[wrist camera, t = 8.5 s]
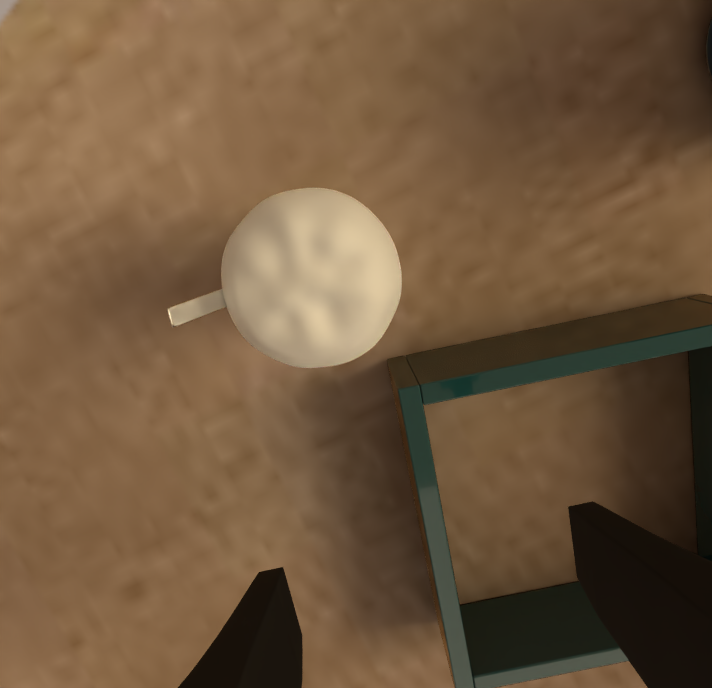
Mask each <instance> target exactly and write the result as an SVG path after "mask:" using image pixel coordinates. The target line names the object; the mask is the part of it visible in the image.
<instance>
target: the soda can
mask: <svg viewBox="0 0 712 688" xmlns="http://www.w3.org/2000/svg"><path fill="white" fill-rule="evenodd" d="M706 59H707V66H708V71H709V74H710V77H711V80H712V19H711V22H710V26H709V30H708V35H707V42H706Z"/></svg>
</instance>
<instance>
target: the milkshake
mask: <svg viewBox="0 0 712 688" xmlns="http://www.w3.org/2000/svg"><path fill="white" fill-rule="evenodd" d="M221 282H222V289H220V290H217V291H214V292H211V293H208V294H205V295H202V296H199V297H196V298H193V299H190V300H188V301H185V302H182V303H179V304H176V305H173V306H171V307H169V308H167V313H168V316H169V320H170V324H171V326H172V327H173V328H174V327H177V326H180V325H183V324H185V323H188V322H190V321H193V320H195V319H198V318H200V317H203V316H205V315H208V314H210V313H213V312H215V311H218V310H220V309H223V308H225V307H227V309H228V312H229V314H230V316H231V319H232V321H233V322H234V324H235V326H236V328H237V329H238V331H239V332H240V333H241V335H242V336H243V337H244V338H245V339H246V340H247V341H248V342H249V343H250V344H251V345H252V346H253V347H254V348H256V349H257V350H259V351H260V352H262V353H263V354H265V355H267V356H268V357H270V358H272V359H274V360H276V361H279V362H281V363H284V364H287V365H290V366H294V367H300V368H320V367H329V366H335V365H340V364H343V363H346V362H349V361H352V360H354V359H356V358H358V357H360V356H361V355H363V354H364V353H366V352H367V351H369V350H370V349H371V348H372V347H374V346H375V345H376V344H377V343H378V341H379V340H380V339H381V337H382V336H383V334H384V333H385V331H386V330H387V328H388V326H389V324H390V322H391V320H392V318H393V316H394V314H395V312H396V309H397V307H398V304H399V300H400V296H401V289H402V275H401V266H400V261H399V257H398V253H397V250H396V247H395V245H394V242H393V240H392V238H391V236H390V234H389V233H388V231H387V229H386V228H385V227H384V225H383V224H382V223H381V221H380V220H379V219H378V218H377V217H376V216H375V215H374V214H373V213H372V212H371V211H370V210H369V209H368V208H367V207H366V206H364V205H363V204H362V203H360V202H359V201H357V200H356V199H354V198H353V197H351V196H349V195H346V194H344V193H341V192H339V191H335V190H331V189H326V188H301V189H294V190H289V191H284V192H281V193H277V194H275V195H272V196H270V197H268V198H266V199H264V200H263V201H261V202H260V203H259V204H257V205H256V206H255V207H254V208H253V209H252V210H251V211H250V212H249V213H248V214H247V215H246V216H245V217H244V218H243V220H242V221H241V222H240V223H239V224H238V226H237V227H236V228H235V230H234V231H233V233H232V234H231V236H230V238H229V240H228V242H227V244H226V247H225V250H224V253H223V258H222V265H221Z"/></svg>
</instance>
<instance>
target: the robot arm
mask: <svg viewBox="0 0 712 688" xmlns="http://www.w3.org/2000/svg"><path fill="white" fill-rule="evenodd" d="M568 509H569V517H570V525H571V533H572V541H573V549H574V557H575V565H576V573H577V578H578V580H579V582H580V584H581V586H582V588H583V589H584V591H585V593H586V595H587V597H588V599H589V601H590V603H591V604H592V606H593V608H594V610H595V612H596V613H597V615H598V617H599V618H600V620H601V621H602V623H603V624H604V626H605V627H606V629H607V630H608V631H609V633H610V634H611V636H612V637H613V639H614V640H615V642H616V643H617V644H618V646H619V647H620V649H621V650H622V652H623V653H624V654H625V656H626V657H627V659H628V660H629V662H630V663H631V664H632V666H633V667H634V669H635V670H636V671H637V673H638V674H639V676H640V677H641V679H642V680H643V681H644V683H645V684H646V686H647V687H648V688H712V561H710V560H708V559H705V558H703V557H701V556H699V555H697V554H694V553H692V552H690V551H688V550H686V549H683V548H681V547H679V546H677V545H675V544H673V543H671V542H669V541H667V540H665V539H663V538H661V537H659V536H657V535H655V534H653V533H651V532H649V531H647V530H646V529H644V528H642V527H640V526H638V525H636V524H634V523H632V522H630V521H629V520H627V519H625V518H623V517H621V516H619V515H617V514H616V513H614V512H612V511H610V510H608V509H606V508H604V507H603V506H601V505H599V504H597V503H595V502H588V503H583V504H579V505H574V506H569V507H568ZM301 687H302V633H301V629H300V626H299V622H298V619H297V615H296V611H295V608H294V604H293V601H292V597H291V594H290V590H289V587H288V583H287V580H286V576H285V572H284V569H283V567H281V568H276V569H272V570H267V571H262V572H259V573H258V575H257V576H256V577H255V579H254V580H253V582H252V584H251V585H250V587H249V588H248V590H247V591H246V593H245V595H244V596H243V598H242V599H241V601H240V603H239V604H238V606H237V607H236V609H235V610H234V612H233V613H232V615H231V617H230V618H229V619H228V621H227V622H226V624H225V625H224V627H223V628H222V630H221V631H220V633H219V634H218V636H217V637H216V639H215V640H214V642H213V643H212V644H211V646H210V647H209V649H208V650H207V651H206V653H205V654H204V655H203V657H202V658H201V659H200V661H199V662H198V663H197V665H196V666H195V667H194V669H193V670H192V671H191V672H190V674H189V675H188V676H187V677H186V679H185V680H184V681H183V682H182V683H181V685H180V686H179V687H178V688H301Z"/></svg>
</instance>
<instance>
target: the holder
mask: <svg viewBox="0 0 712 688" xmlns="http://www.w3.org/2000/svg"><path fill="white" fill-rule="evenodd" d="M686 351H688V353H689V374H690V395H691V415H692V436H693V457H694V478H695V499H696V520H697V541H698V555H699V556H701V557H703V558H705V559H708V560H710V561H712V296H710V295H706V294H701V295H696V296H691V297H687V298H681V299H676V300H671V301H666V302H662V303H657V304H652V305H647V306H642V307H637V308H632V309H628V310H623V311H618V312H613V313H608V314H603V315H599V316H594V317H589V318H584V319H579V320H574V321H570V322H565V323H560V324H555V325H550V326H545V327H540V328H536V329H531V330H526V331H521V332H516V333H511V334H507V335H502V336H497V337H492V338H487V339H482V340H477V341H473V342H468V343H463V344H458V345H453V346H448V347H444V348H439V349H434V350H429V351H424V352H419V353H414V354H410V355H406V356H400V357H395V358H390V359H387V365H388V370H389V375H390V380H391V385H392V390H393V395H394V401H395V406H396V411H397V416H398V421H399V426H400V431H401V436H402V441H403V446H404V452H405V457H406V462H407V467H408V472H409V477H410V482H411V487H412V492H413V498H414V503H415V508H416V513H417V518H418V523H419V528H420V533H421V538H422V544H423V549H424V554H425V559H426V564H427V569H428V574H429V579H430V584H431V589H432V595H433V600H434V605H435V610H436V615H437V620H438V625H439V629H440V633H441V637H442V640H443V644H444V648H445V652H446V656H447V660H448V664H449V668H450V672H451V676H452V680H453V684H454V688H496V687H501V686H506V685H511V684H516V683H521V682H526V681H531V680H536V679H541V678H546V677H551V676H556V675H561V674H566V673H571V672H576V671H581V670H586V669H591V668H596V667H601V666H606V665H611V664H616V663H621V662H626V661H629V660H628V659H627V657H626V656H625V654H624V653H623V652H622V650H621V649H620V647H619V646H618V644H617V643H616V642H615V640H614V639H613V637H612V636H611V634H610V633H609V631H608V630H607V629H606V627H605V626H604V624H603V623H602V621H601V620H600V618H599V617H598V615H597V613H596V612H595V610H594V608H593V606H592V604H591V603H590V601H589V599H588V597H587V595H586V593H585V591H584V589H583V588H582V586H581V584H580V582H574V583H569V584H564V585H559V586H554V587H549V588H544V589H539V590H534V591H529V592H524V593H519V594H514V595H510V596H505V597H500V598H495V599H490V600H485V601H480V602H475V603H470V604H465V605H460V604H459V599H458V593H457V588H456V582H455V577H454V571H453V566H452V560H451V555H450V549H449V544H448V538H447V533H446V527H445V522H444V516H443V511H442V505H441V500H440V494H439V489H438V483H437V478H436V472H435V467H434V461H433V456H432V450H431V445H430V439H429V434H428V428H427V423H426V417H425V412H424V406H423V404H424V405H428V404H432V403H437V402H442V401H447V400H452V399H457V398H462V397H466V396H471V395H476V394H481V393H486V392H491V391H496V390H501V389H505V388H510V387H515V386H520V385H525V384H530V383H535V382H540V381H544V380H549V379H554V378H559V377H564V376H569V375H574V374H578V373H583V372H588V371H593V370H598V369H603V368H608V367H613V366H617V365H622V364H627V363H632V362H637V361H642V360H647V359H651V358H656V357H661V356H666V355H671V354H676V353H681V352H686Z"/></svg>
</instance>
